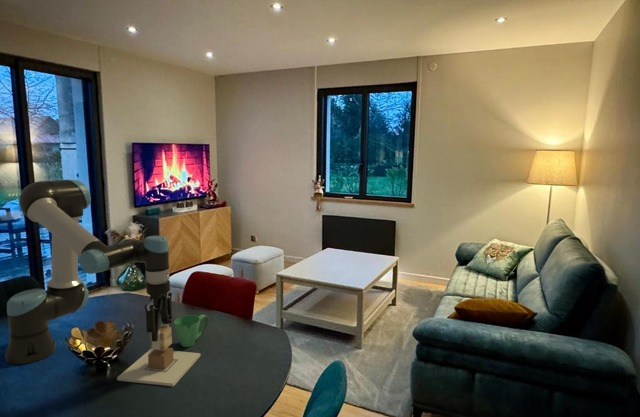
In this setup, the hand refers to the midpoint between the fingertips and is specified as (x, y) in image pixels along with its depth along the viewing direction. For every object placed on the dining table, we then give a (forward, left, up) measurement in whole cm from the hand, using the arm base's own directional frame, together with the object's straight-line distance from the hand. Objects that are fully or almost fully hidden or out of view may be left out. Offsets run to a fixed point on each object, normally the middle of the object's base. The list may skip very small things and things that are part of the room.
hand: (161, 344), depth 139 cm
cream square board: (0, 0, -8) cm, 8 cm away
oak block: (0, 0, 0) cm, 0 cm away
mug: (+2, +20, -9) cm, 22 cm away
